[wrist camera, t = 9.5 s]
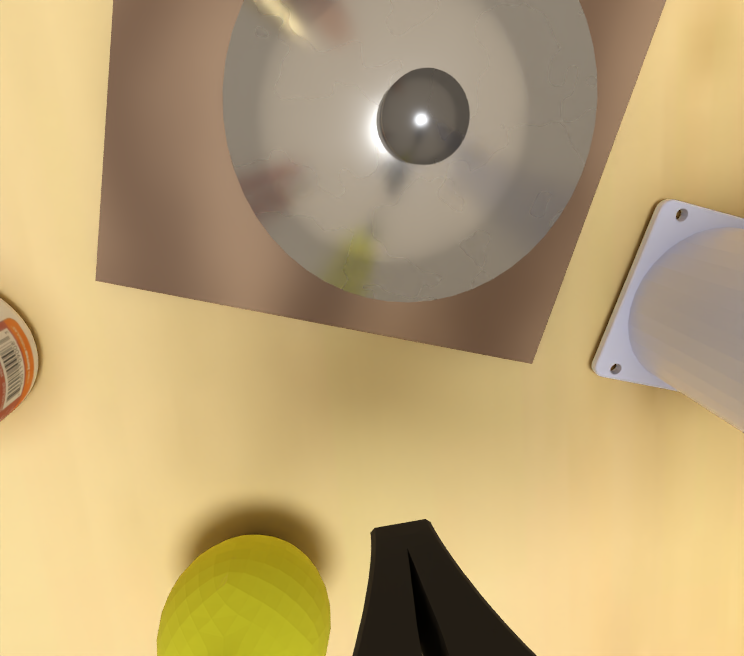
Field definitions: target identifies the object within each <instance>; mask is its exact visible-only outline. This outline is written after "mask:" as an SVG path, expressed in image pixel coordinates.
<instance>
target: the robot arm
mask: <svg viewBox="0 0 744 656" xmlns="http://www.w3.org/2000/svg"><path fill="white" fill-rule="evenodd" d="M678 210H681V216H680V217H679V219H676V213H677V212H678ZM614 364H616V367H615V369H613V370H612V371H610V369H611V367H612V366H613V365H614ZM591 367H592V370H593V371H594V373H596V374H597V375H599V376H601V377H606V378H611V379H616V380H621V381H627V382H632V383H637V384H642V385H648V386H653V387H658V388H663V389H669V390H674V391H679V392H681V393H683V394H684V395H686V396H687V397H689V398H690V399H692V400H693V401H695V402H697V403H698V404H700V405H701V406H703V407H704V408H706V409H707V410H709V411H711V412H712V413H714V414H715V415H717V416H718V417H720V418H721V419H723V420H725V421H726V422H728V423H729V424H731V425H732V426H734V427H735V428H737V429H739V430H740V431H742V432H743V433H744V218H741V217H737V216H733V215H730V214H726V213H722V212H719V211H715V210H711V209H708V208H704V207H700V206H697V205H693V204H689V203H686V202H682V201H678V200H673V199H665V200H663V201H661V202H660V203H659V204H658V205H657V207H656V208H655V210H654V213H653V215H652V218H651V220H650V223H649V225H648V227H647V230H646V232H645V235H644V237H643V240H642V242H641V244H640V247H639V249H638V252H637V254H636V257H635V259H634V262H633V264H632V266H631V269H630V271H629V274H628V276H627V279H626V281H625V283H624V286H623V288H622V291H621V293H620V296H619V298H618V301H617V303H616V305H615V308H614V310H613V313H612V315H611V318H610V320H609V322H608V325H607V327H606V330H605V332H604V335H603V337H602V340H601V342H600V344H599V347H598V349H597V352H596V354H595V357H594V359H593V361H592V366H591ZM422 654H423V655H422ZM353 656H536V655H535V654H534V653H533V652H532V651H531V650H530V649H529V648H528V647H527V646H526V645H525V644H524V643H523V641H522V640H521V639H520V638H519V637H518V636H517V635H516V634H515V633H514V632H513V631H512V630H511V629H510V628H509V627H508V626H507V624H506V623H505V622H504V621H503V620H502V619H501V618H500V616H499V615H498V614H497V613H496V612H495V611H494V610H493V609H492V607H491V606H490V605H489V604H488V603H487V601H486V600H485V599H484V598H483V597H482V596H481V594H480V593H479V592H478V590H477V589H476V588H475V587H474V585H473V584H472V583H471V582H470V580H469V579H468V578H467V577H466V575H465V574H464V573H463V571H462V570H461V569H460V567H459V566H458V565H457V563H456V562H455V560H454V559H453V558H452V556H451V555H450V553H449V552H448V550H447V549H446V547H445V546H444V544H443V543H442V541H441V540H440V538H439V537H438V535H437V533H436V531H435V530H434V528H433V526H432V524H431V522H429V521H428V520H426V519H423V520H418V521H412V522H406V523H400V524H395V525H389V526H383V527H377V528H374V529H373V531H372V532H371V563H370V572H369V580H368V586H367V592H366V598H365V603H364V609H363V614H362V619H361V623H360V627H359V631H358V635H357V640H356V644H355V648H354V652H353Z"/></svg>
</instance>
